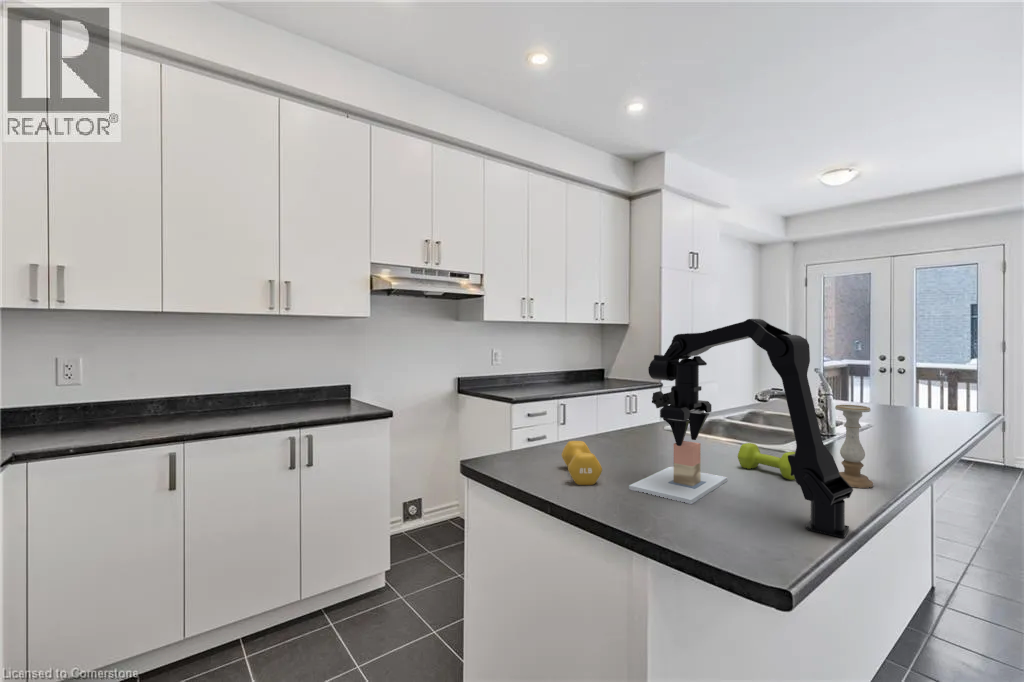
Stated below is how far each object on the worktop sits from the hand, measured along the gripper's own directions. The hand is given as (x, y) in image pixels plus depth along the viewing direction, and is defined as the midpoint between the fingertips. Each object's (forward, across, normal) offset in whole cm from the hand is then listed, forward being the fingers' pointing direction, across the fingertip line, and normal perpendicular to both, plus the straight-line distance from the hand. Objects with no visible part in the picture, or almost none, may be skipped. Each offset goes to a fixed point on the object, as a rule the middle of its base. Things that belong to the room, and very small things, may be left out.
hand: (686, 442), depth 124 cm
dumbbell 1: (+12, +10, -26) cm, 30 cm away
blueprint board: (+11, 0, -2) cm, 12 cm away
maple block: (+10, 0, 0) cm, 10 cm away
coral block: (+5, 0, 0) cm, 5 cm away
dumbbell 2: (+12, -28, +12) cm, 33 cm away
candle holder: (+12, -32, +31) cm, 46 cm away
